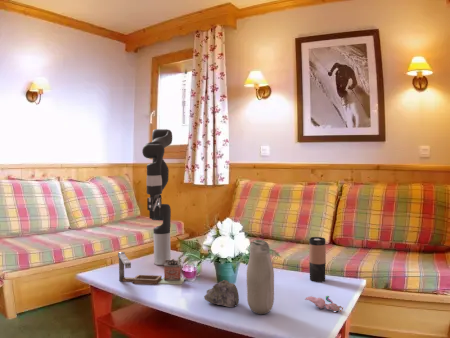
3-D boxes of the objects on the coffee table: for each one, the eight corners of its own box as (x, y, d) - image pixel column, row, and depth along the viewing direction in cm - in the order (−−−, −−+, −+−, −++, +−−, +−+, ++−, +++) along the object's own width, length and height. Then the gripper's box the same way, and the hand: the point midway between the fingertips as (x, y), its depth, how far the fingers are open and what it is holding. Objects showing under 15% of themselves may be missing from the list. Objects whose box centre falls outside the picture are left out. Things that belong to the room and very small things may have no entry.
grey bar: (124, 256, 200) (124, 251, 200) (131, 267, 181) (131, 261, 181) (117, 257, 199) (117, 252, 199) (124, 268, 180) (124, 262, 180)
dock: (122, 278, 202) (122, 255, 201) (161, 279, 199) (161, 256, 198) (116, 282, 195) (115, 259, 195) (156, 284, 192) (156, 260, 191)
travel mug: (328, 281, 193) (328, 239, 192) (315, 283, 190) (315, 240, 189) (319, 276, 200) (319, 236, 199) (306, 278, 197) (306, 237, 197)
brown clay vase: (278, 311, 158) (278, 239, 156) (262, 319, 150) (262, 244, 149) (258, 305, 164) (257, 236, 163) (242, 313, 156) (241, 240, 155)
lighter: (181, 278, 197) (181, 258, 197) (179, 281, 194) (179, 260, 194) (165, 278, 198) (164, 258, 198) (163, 280, 195) (162, 260, 194)
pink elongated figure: (343, 313, 159) (307, 300, 166) (346, 298, 158) (309, 286, 166) (339, 318, 154) (301, 305, 161) (341, 304, 153) (304, 290, 160)
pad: (164, 277, 201) (164, 276, 201) (186, 278, 200) (186, 277, 200) (158, 283, 193) (158, 282, 193) (181, 284, 191) (181, 283, 191)
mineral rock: (202, 302, 168) (202, 278, 168) (223, 296, 175) (222, 273, 175) (221, 311, 158) (221, 286, 158) (242, 305, 165) (242, 280, 164)
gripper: (151, 183, 208) (152, 214, 209) (141, 185, 194) (142, 219, 195) (166, 183, 207) (166, 215, 208) (156, 185, 193) (157, 219, 194)
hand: (154, 217), depth 201 cm, fingers open, 8 cm apart
